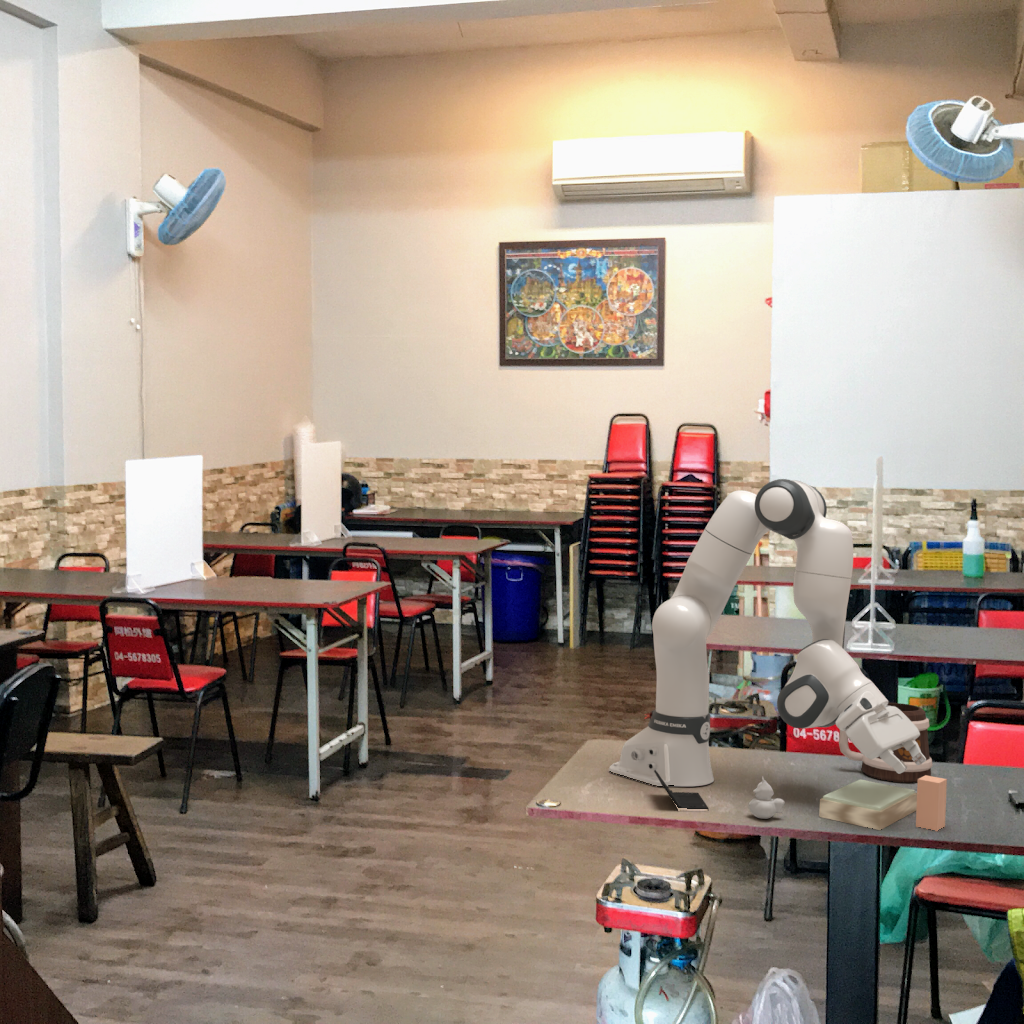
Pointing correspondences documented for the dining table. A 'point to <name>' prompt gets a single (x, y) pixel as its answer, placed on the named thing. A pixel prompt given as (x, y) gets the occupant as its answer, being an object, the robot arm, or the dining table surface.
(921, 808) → the terracotta block
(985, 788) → the dining table surface
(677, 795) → the handheld gaming console
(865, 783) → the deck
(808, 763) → the dining table surface
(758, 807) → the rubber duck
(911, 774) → the mug
